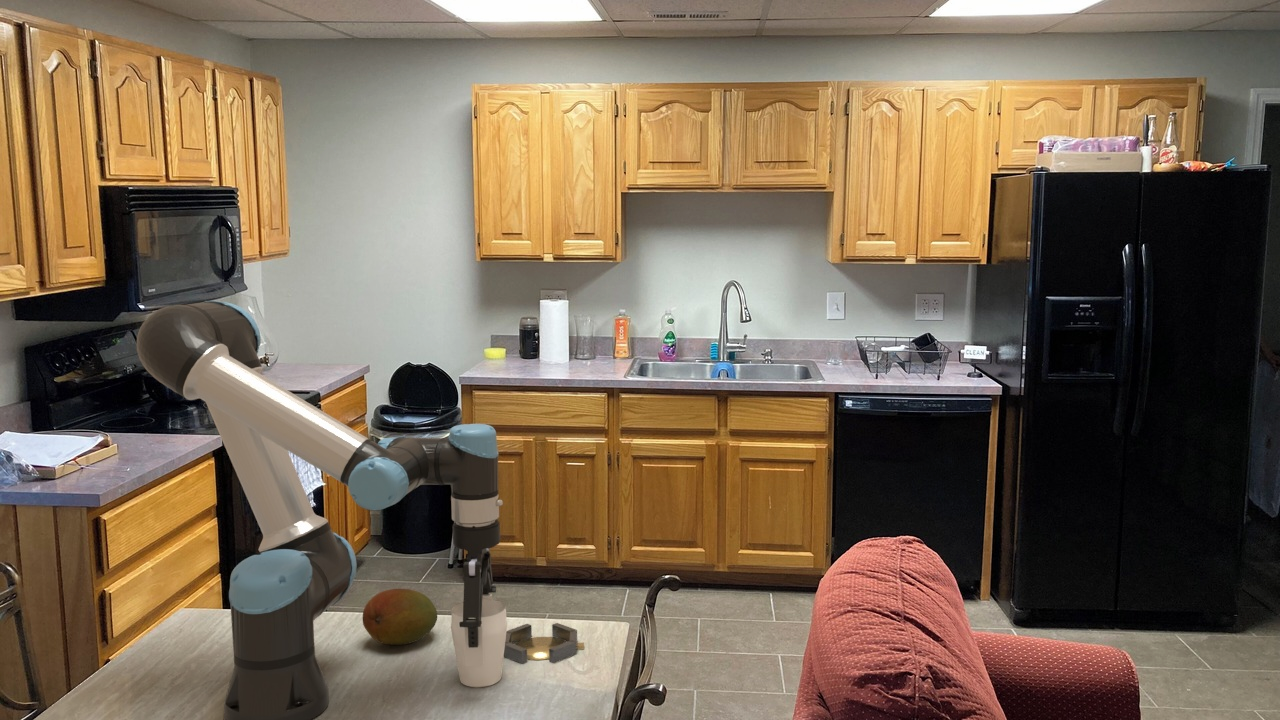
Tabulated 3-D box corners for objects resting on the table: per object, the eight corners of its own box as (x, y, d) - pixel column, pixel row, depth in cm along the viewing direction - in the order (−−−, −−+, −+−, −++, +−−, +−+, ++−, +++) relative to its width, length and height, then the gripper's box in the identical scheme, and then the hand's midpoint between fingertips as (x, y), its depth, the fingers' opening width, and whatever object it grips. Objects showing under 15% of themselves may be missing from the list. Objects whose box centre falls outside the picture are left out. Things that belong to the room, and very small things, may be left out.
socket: (492, 664, 171) (492, 652, 171) (499, 635, 184) (499, 624, 183) (583, 662, 171) (583, 649, 171) (584, 633, 184) (584, 622, 184)
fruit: (353, 647, 179) (350, 593, 178) (402, 624, 190) (400, 572, 189) (402, 660, 173) (400, 604, 172) (450, 635, 184) (448, 582, 183)
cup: (497, 693, 160) (495, 620, 159) (444, 688, 162) (441, 616, 160) (515, 669, 169) (514, 600, 167) (464, 665, 171) (462, 597, 169)
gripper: (491, 542, 150) (495, 679, 152) (506, 501, 175) (509, 619, 177) (440, 543, 150) (445, 681, 152) (463, 501, 175) (466, 620, 177)
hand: (479, 648), depth 165 cm, fingers open, 13 cm apart
